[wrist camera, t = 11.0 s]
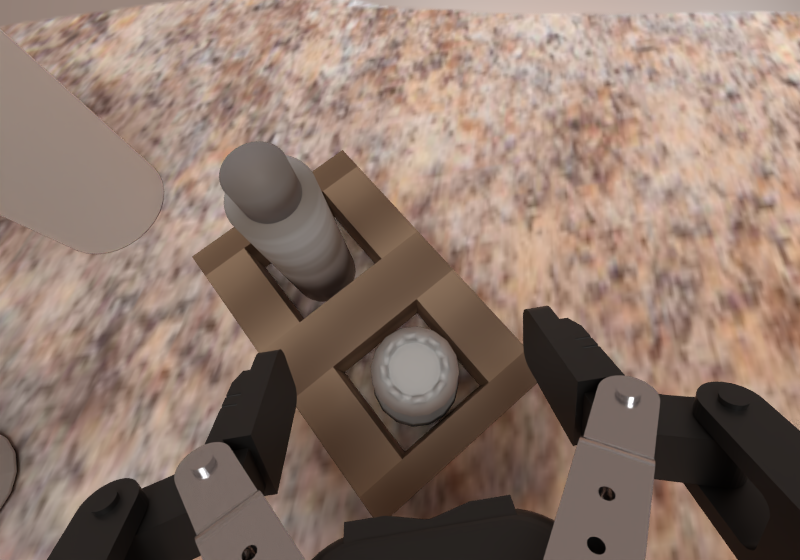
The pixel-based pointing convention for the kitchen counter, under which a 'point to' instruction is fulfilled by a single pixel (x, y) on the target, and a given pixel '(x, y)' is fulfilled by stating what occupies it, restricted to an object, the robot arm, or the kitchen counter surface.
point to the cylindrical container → (67, 163)
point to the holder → (353, 311)
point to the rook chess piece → (415, 376)
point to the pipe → (6, 469)
